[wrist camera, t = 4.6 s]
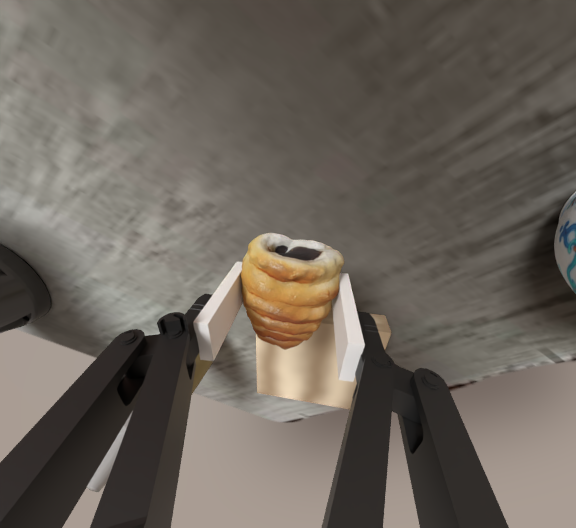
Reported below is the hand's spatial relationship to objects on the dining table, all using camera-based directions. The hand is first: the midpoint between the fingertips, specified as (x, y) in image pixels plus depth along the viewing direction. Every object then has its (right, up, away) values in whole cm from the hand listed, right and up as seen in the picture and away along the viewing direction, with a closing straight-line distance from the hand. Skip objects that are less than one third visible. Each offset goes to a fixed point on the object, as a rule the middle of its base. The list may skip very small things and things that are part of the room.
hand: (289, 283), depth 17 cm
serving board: (+4, -11, +16) cm, 20 cm away
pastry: (0, 0, 0) cm, 0 cm away
